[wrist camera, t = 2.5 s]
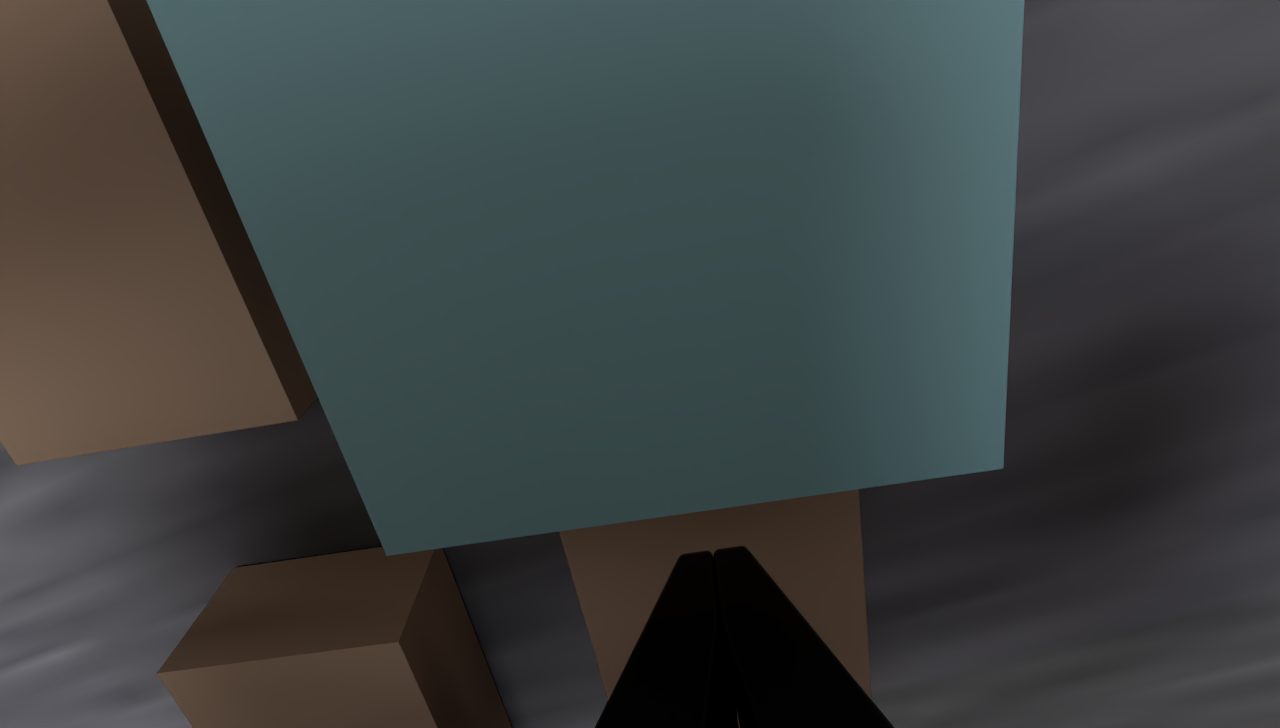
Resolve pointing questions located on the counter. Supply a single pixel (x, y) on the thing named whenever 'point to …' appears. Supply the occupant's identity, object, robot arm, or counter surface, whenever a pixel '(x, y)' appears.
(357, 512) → the counter surface
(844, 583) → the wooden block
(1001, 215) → the cube
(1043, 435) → the counter surface
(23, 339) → the broken strip
